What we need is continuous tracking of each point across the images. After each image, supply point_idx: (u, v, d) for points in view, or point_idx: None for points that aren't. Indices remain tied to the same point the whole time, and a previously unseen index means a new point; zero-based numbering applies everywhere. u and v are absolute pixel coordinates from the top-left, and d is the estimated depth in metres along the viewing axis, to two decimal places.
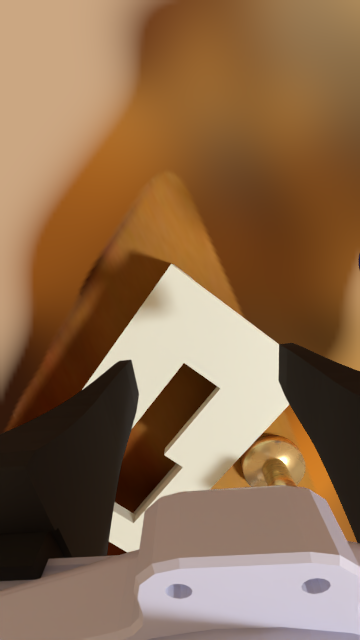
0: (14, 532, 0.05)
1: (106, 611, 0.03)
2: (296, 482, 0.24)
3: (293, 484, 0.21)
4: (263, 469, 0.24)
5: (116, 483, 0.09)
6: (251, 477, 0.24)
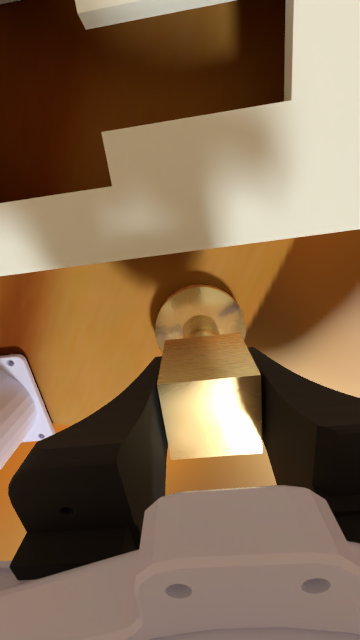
0: (93, 528, 0.05)
1: (106, 611, 0.03)
2: None
3: None
4: (191, 319, 0.16)
5: (164, 480, 0.09)
6: (166, 320, 0.16)
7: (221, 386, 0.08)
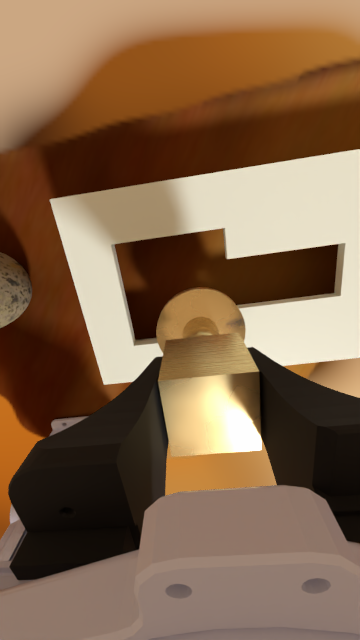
0: (93, 528, 0.05)
1: (106, 611, 0.03)
2: None
3: None
4: (191, 321, 0.16)
5: (164, 480, 0.09)
6: (167, 322, 0.16)
7: (220, 383, 0.09)
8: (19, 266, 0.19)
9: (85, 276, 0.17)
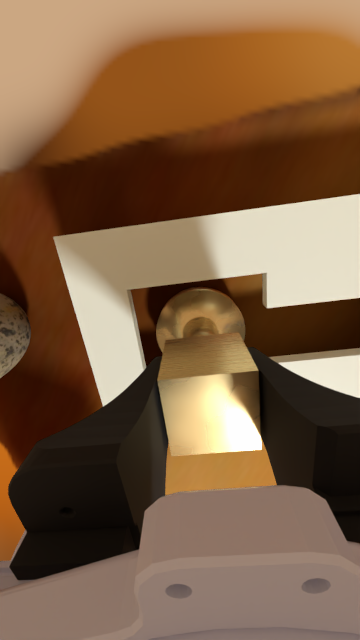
0: (93, 528, 0.05)
1: (106, 611, 0.03)
2: None
3: None
4: (191, 321, 0.16)
5: (164, 480, 0.09)
6: (167, 322, 0.16)
7: (219, 382, 0.09)
8: (16, 308, 0.16)
9: (95, 325, 0.14)
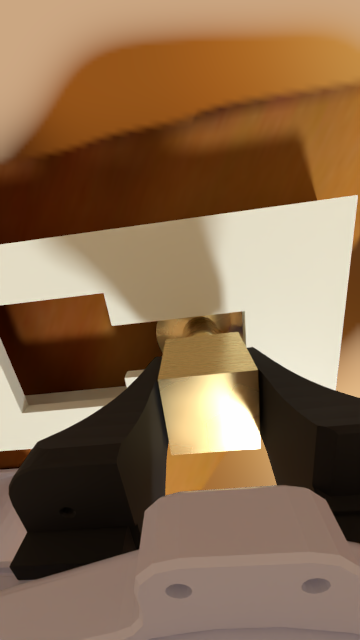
0: (93, 528, 0.05)
1: (106, 611, 0.03)
2: None
3: None
4: (191, 321, 0.16)
5: (164, 480, 0.09)
6: (167, 321, 0.16)
7: (219, 382, 0.09)
8: None
9: None
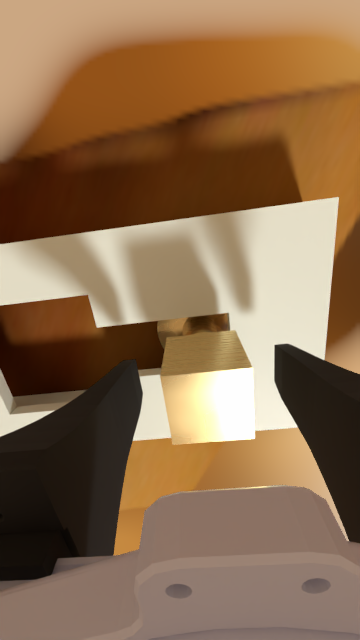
0: (23, 532, 0.05)
1: (106, 611, 0.03)
2: None
3: None
4: (191, 318, 0.17)
5: (122, 483, 0.09)
6: None
7: (216, 378, 0.09)
8: None
9: None
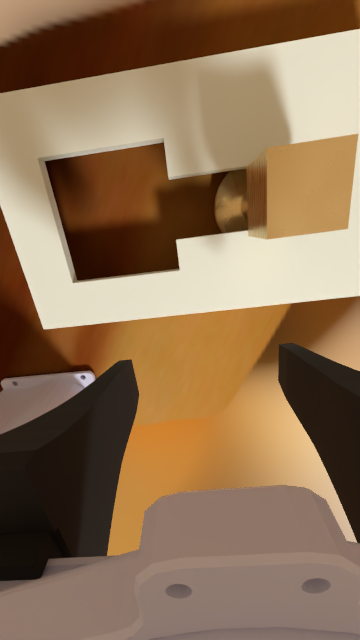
0: (14, 532, 0.05)
1: (106, 611, 0.03)
2: None
3: None
4: None
5: (116, 484, 0.09)
6: (226, 192, 0.17)
7: (321, 148, 0.10)
8: None
9: (12, 197, 0.15)
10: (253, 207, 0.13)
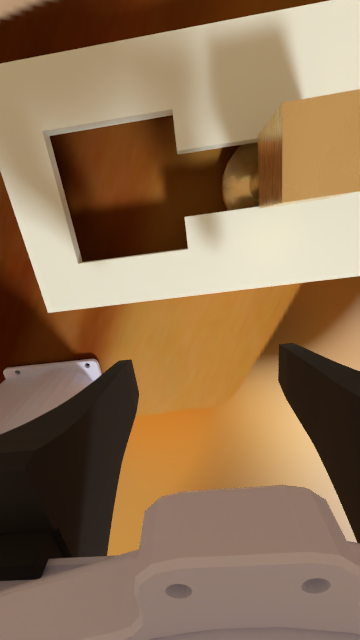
0: (14, 532, 0.05)
1: (106, 611, 0.03)
2: None
3: None
4: None
5: (116, 483, 0.09)
6: (234, 170, 0.17)
7: (340, 102, 0.09)
8: None
9: (16, 173, 0.15)
10: (265, 175, 0.12)
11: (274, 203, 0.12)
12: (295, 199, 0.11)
